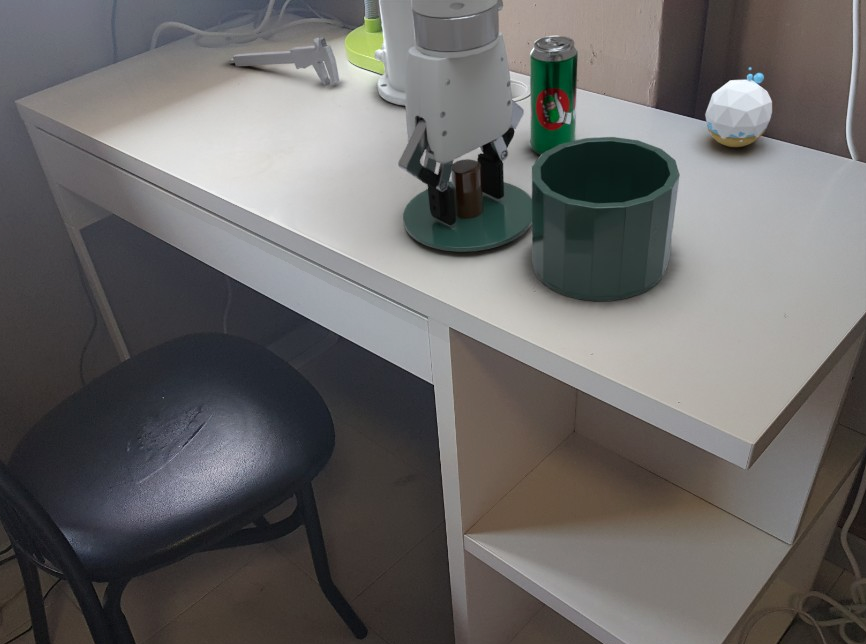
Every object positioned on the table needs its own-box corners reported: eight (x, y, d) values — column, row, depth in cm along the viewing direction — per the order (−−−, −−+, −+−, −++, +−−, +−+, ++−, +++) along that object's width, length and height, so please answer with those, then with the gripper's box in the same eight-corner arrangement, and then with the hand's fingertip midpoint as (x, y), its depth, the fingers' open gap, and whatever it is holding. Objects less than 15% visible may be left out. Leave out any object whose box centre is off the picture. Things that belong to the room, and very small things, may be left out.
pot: (505, 264, 81) (502, 174, 74) (592, 212, 86) (596, 124, 80) (606, 319, 73) (613, 224, 67) (694, 258, 79) (708, 165, 73)
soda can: (549, 134, 100) (550, 30, 91) (583, 146, 97) (587, 40, 89) (521, 151, 97) (520, 45, 89) (556, 163, 94) (557, 55, 86)
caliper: (340, 84, 116) (332, 37, 111) (335, 87, 115) (327, 40, 111) (233, 62, 125) (223, 18, 120) (228, 65, 124) (217, 21, 120)
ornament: (749, 164, 91) (763, 92, 86) (689, 148, 95) (699, 78, 89) (777, 139, 95) (791, 68, 89) (718, 125, 98) (728, 56, 93)
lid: (377, 223, 88) (369, 170, 84) (472, 175, 94) (469, 123, 90) (465, 273, 80) (462, 217, 76) (562, 216, 86) (564, 161, 82)
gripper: (496, -10, 80) (502, 164, 92) (352, 45, 72) (379, 227, 85) (554, 5, 76) (552, 186, 88) (408, 66, 68) (428, 255, 80)
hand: (467, 205), depth 86 cm, fingers open, 6 cm apart
